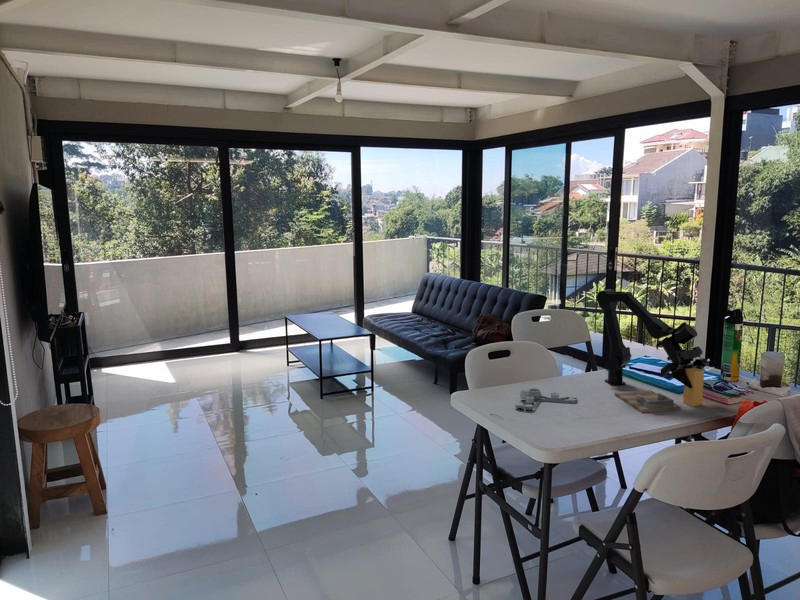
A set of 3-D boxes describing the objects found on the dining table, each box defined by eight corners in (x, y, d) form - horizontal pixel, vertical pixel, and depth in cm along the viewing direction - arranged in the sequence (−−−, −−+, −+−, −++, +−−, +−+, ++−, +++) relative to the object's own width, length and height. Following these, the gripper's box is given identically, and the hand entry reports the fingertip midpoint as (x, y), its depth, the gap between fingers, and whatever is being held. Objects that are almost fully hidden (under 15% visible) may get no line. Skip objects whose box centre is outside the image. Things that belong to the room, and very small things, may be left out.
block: (683, 402, 220) (684, 369, 218) (692, 401, 221) (694, 367, 219) (692, 406, 216) (694, 372, 213) (702, 404, 217) (704, 370, 215)
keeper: (614, 395, 230) (614, 386, 230) (650, 392, 232) (650, 383, 232) (641, 412, 211) (642, 402, 210) (680, 409, 213) (681, 399, 212)
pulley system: (500, 403, 227) (522, 413, 214) (500, 391, 227) (522, 400, 213) (558, 395, 238) (583, 404, 224) (558, 384, 237) (583, 392, 224)
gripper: (667, 342, 215) (690, 379, 207) (706, 337, 222) (730, 373, 213) (650, 358, 224) (672, 394, 215) (688, 352, 230) (710, 387, 222)
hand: (696, 387), depth 216 cm, fingers closed on block, 4 cm apart
